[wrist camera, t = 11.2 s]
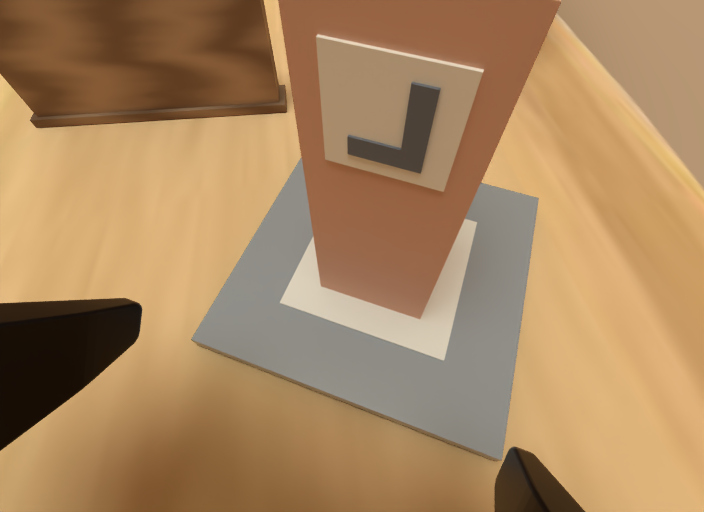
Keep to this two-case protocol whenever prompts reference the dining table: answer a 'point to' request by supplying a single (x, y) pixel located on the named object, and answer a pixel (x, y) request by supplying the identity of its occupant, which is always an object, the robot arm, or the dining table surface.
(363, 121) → the lettered block
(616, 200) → the dining table surface
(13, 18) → the screen
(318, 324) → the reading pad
